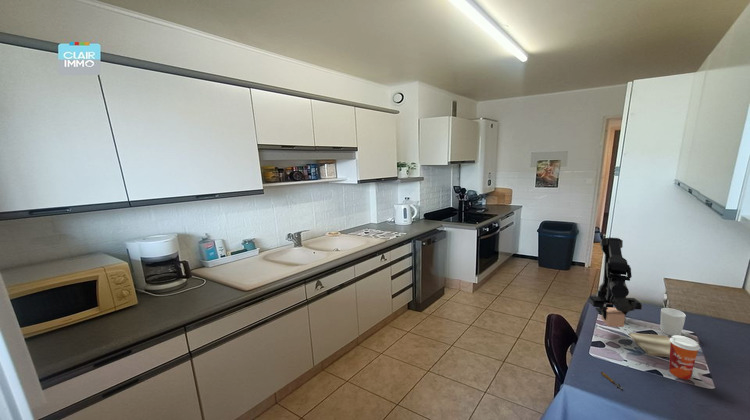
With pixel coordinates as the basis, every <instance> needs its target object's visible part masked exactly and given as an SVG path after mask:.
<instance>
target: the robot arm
mask: <svg viewBox="0 0 750 420" xmlns="http://www.w3.org/2000/svg"><path fill="white" fill-rule="evenodd" d="M599 246H600V247H601V249H600V250H601V251H602V252H603V254H604V263H603V264H604V265H603V281H602V283H601V284H600V285H599V287H598V290H597V291H596V295H590V296H589V297H588V299H587V302H588V303H589V304H590V305H591V306H592V307H594V308H595V310H596V311H597V312H598V313H599V314H600V315H601V317H602V316H603V318H604V319H605V320H606V310H607V309H608V308H607V307H610V308H616V309H617V310H618V311H621V312H623V313H624V314H625V316H627V314H628V313H629V312H631V311H632V312H633V311H635V310H643V304H642V303H641V302H640V301H639V300H638V299H636V298H635V297H628V296H629V294H630V290H629V289H628V286H627V283H626V281H629V282H630V281H631V278H632V268H631V265H629V264H628V261H627V259H626V258H624V257H623V255H622V248H623V240H622V239H621V238H619V237H603V238H600V243H599Z"/></svg>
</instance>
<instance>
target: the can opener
mask: <svg viewBox="0 0 750 420" xmlns="http://www.w3.org/2000/svg"><path fill="white" fill-rule="evenodd" d="M600 374H601V376H602V377H605V379H607V380H608V381H609V382H611V383H612V384H613V386H617V387H618V388H619V389H620V390H621V391H624V388H623V387H622V385H621V384H619V383H617V382H615V380H613V379H612V378H611V377H610V376H609V375H608V374H606V373H605V372H604V371H601V372H600Z"/></svg>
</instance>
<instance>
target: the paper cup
mask: <svg viewBox="0 0 750 420" xmlns="http://www.w3.org/2000/svg"><path fill="white" fill-rule="evenodd" d="M669 339H670V342H671V343H670V357H669V365H668V366H669V367H668V368H669V373H670V374H671V375H672V376H674V377H677V378H678V379H682V380H690V379H691V378H692V374H693V370H694V367H695V363H696V359H697V355H698V352H699V350H700V349H701V347H700V344H699V343H698V342H697V341H696V340H694V339H692V338H690V337H688V336H684V335H681V336H680V335H674V336H671V337H669Z"/></svg>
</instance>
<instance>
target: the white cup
mask: <svg viewBox="0 0 750 420" xmlns="http://www.w3.org/2000/svg"><path fill="white" fill-rule="evenodd" d="M686 316H687V315H686V314H685V313H684V312H683V311H681V310H679V309H676V308H669V307H662V308H661V309H660V320H659V321H660V328H659V329H660V331H661V332H662V334H663V333H664V334H665V335H668V336H671V337H672V336H674V335H680V336H682V333H683V332H682V331H683V330H684V325H685V322H686Z"/></svg>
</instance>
